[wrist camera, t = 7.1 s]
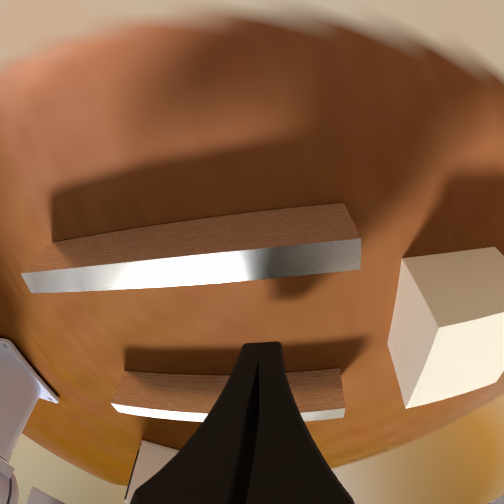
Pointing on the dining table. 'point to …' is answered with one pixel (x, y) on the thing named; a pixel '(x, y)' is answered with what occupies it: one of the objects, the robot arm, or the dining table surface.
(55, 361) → the dining table surface
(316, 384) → the channel
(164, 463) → the medicine bottle
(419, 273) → the block
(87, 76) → the dining table surface
